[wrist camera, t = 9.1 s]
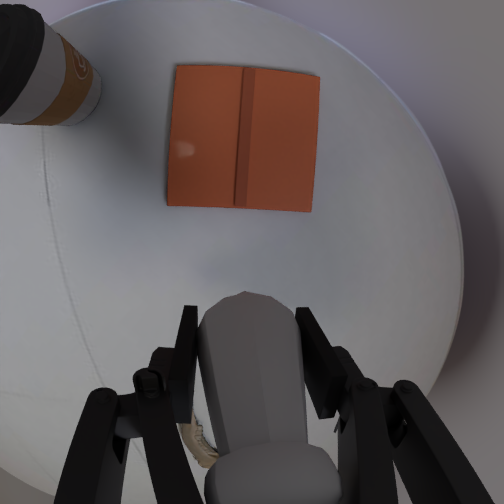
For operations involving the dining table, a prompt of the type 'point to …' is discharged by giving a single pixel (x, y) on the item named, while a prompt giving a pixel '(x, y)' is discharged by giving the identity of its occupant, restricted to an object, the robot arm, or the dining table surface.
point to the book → (243, 138)
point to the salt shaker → (259, 407)
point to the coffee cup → (42, 73)
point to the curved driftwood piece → (198, 444)
